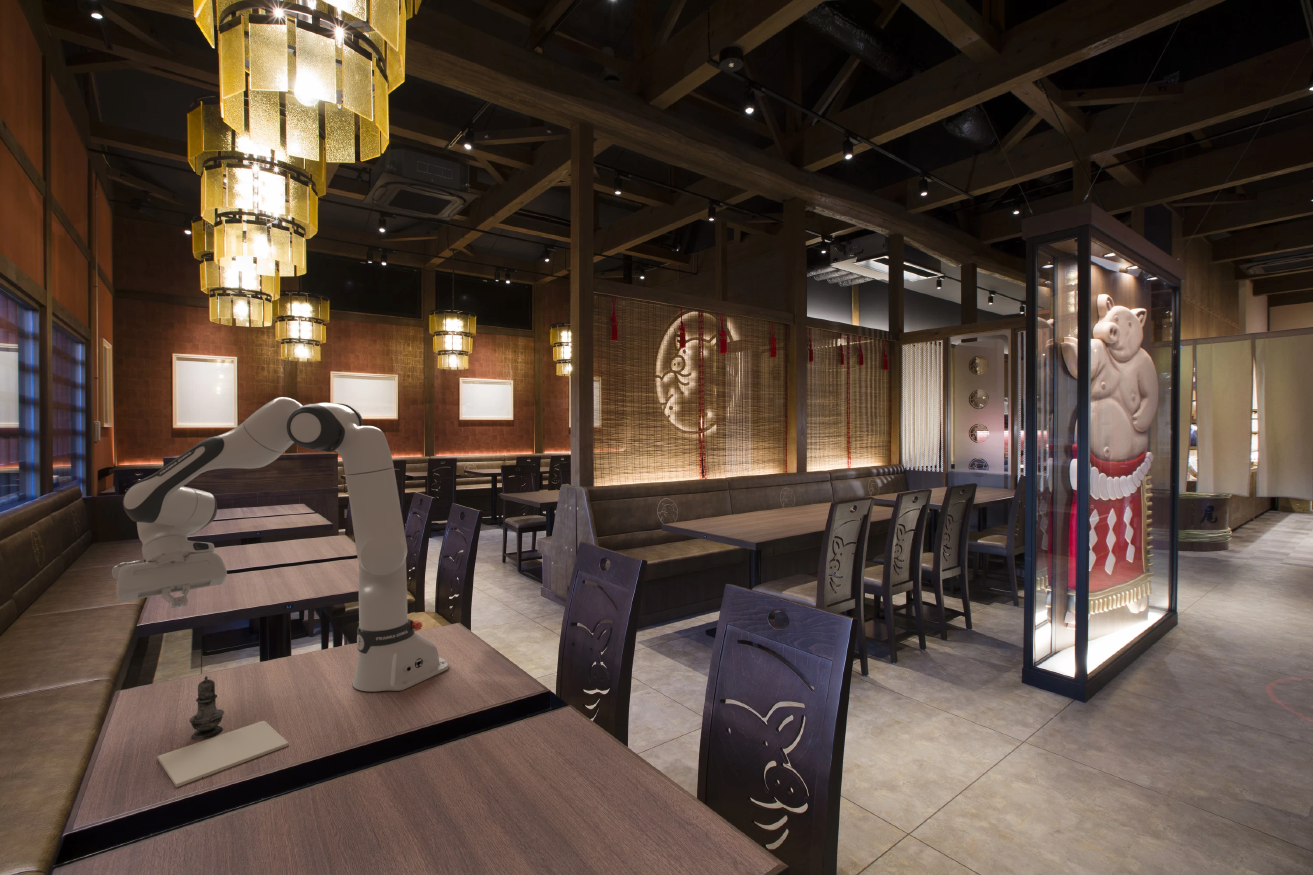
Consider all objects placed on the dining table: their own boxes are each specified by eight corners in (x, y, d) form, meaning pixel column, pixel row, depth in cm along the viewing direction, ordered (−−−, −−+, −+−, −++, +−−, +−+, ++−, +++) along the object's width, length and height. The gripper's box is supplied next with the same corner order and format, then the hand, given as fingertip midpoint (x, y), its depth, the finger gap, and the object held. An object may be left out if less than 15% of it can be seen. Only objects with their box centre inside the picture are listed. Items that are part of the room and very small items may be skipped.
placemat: (264, 722, 130) (264, 720, 130) (288, 745, 121) (288, 742, 121) (157, 758, 117) (157, 755, 117) (176, 787, 108) (176, 783, 108)
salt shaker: (206, 741, 123) (204, 683, 123) (182, 738, 124) (180, 680, 124) (231, 727, 129) (230, 671, 128) (208, 724, 130) (207, 669, 129)
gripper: (111, 556, 135) (121, 608, 129) (221, 542, 151) (234, 588, 145) (108, 572, 138) (117, 624, 132) (216, 557, 154) (228, 603, 148)
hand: (179, 605), depth 139 cm, fingers closed
